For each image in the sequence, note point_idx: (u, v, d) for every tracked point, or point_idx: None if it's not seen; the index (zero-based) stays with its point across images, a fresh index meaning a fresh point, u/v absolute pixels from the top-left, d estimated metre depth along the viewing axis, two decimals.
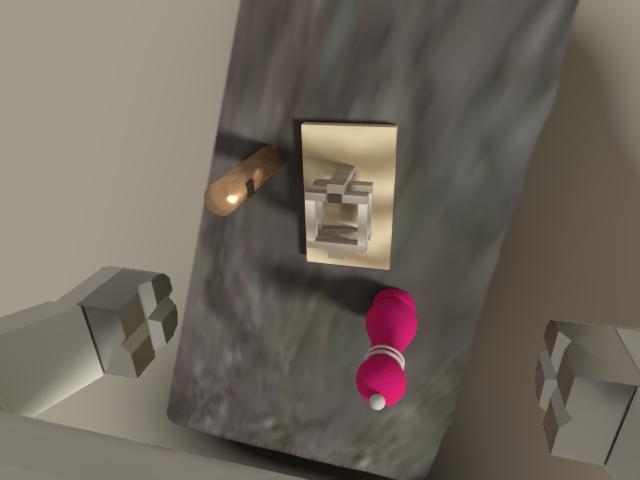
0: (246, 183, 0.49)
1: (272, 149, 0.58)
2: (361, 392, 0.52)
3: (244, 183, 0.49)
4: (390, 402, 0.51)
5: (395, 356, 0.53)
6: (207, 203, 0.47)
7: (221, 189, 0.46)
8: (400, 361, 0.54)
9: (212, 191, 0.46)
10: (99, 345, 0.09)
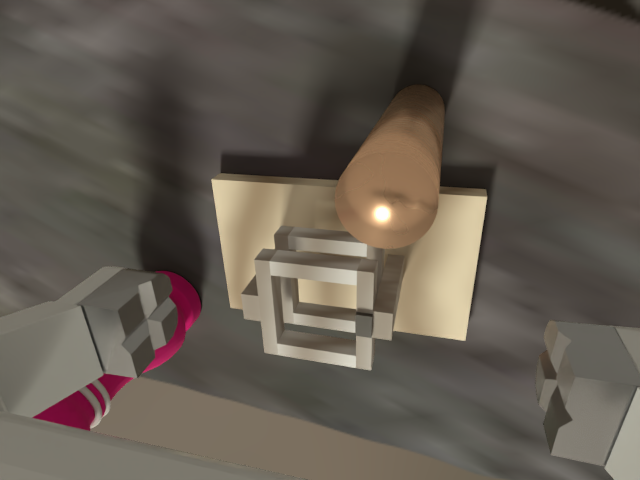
0: None
1: None
2: None
3: None
4: None
5: (97, 422, 0.31)
6: (371, 159, 0.15)
7: (420, 217, 0.15)
8: (91, 427, 0.32)
9: (413, 185, 0.15)
10: (99, 345, 0.09)
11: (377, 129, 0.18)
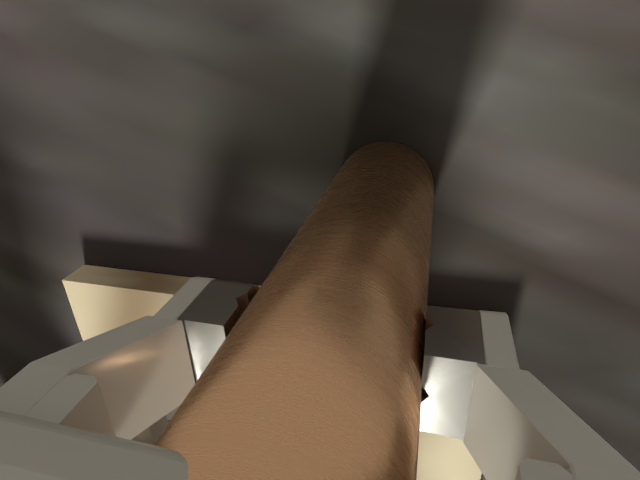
0: None
1: None
2: None
3: None
4: None
5: None
6: None
7: None
8: None
9: None
10: (197, 361, 0.09)
11: (216, 374, 0.06)
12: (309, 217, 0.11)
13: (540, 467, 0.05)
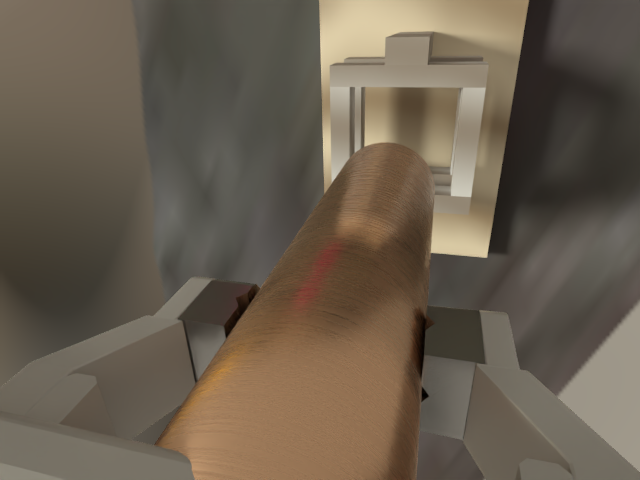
0: None
1: None
2: None
3: None
4: None
5: None
6: None
7: None
8: None
9: None
10: (197, 361, 0.09)
11: (216, 376, 0.06)
12: (309, 218, 0.11)
13: (540, 467, 0.05)
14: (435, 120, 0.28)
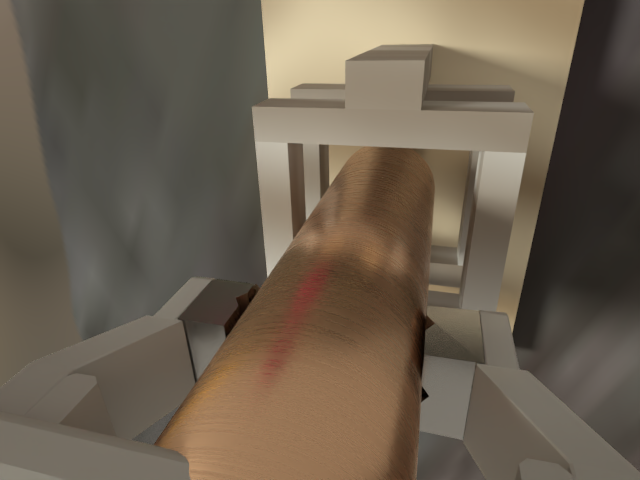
0: None
1: None
2: None
3: None
4: None
5: None
6: None
7: None
8: None
9: None
10: (197, 362, 0.09)
11: (215, 375, 0.06)
12: (309, 218, 0.11)
13: (540, 467, 0.05)
14: (435, 173, 0.19)
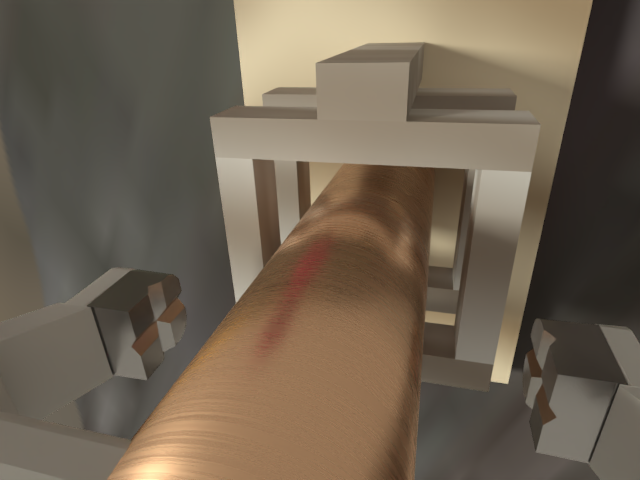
0: None
1: None
2: None
3: None
4: None
5: None
6: None
7: None
8: None
9: None
10: (109, 347, 0.09)
11: (252, 294, 0.07)
12: (322, 192, 0.12)
13: None
14: None
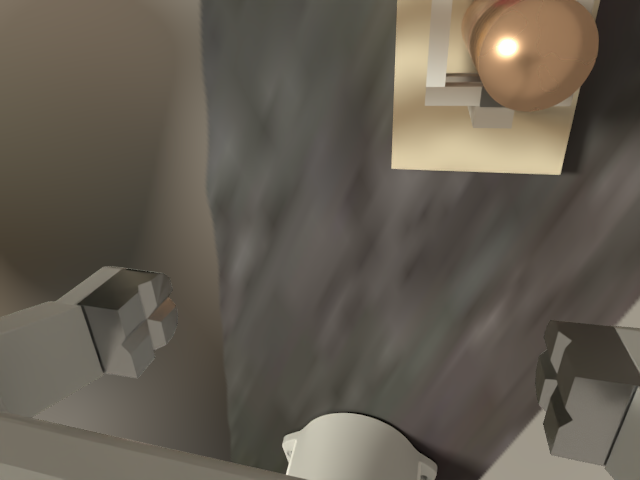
0: None
1: None
2: None
3: None
4: None
5: None
6: (528, 5, 0.14)
7: (574, 69, 0.14)
8: None
9: (572, 32, 0.14)
10: (99, 345, 0.09)
11: (498, 2, 0.18)
12: (479, 5, 0.23)
13: None
14: None
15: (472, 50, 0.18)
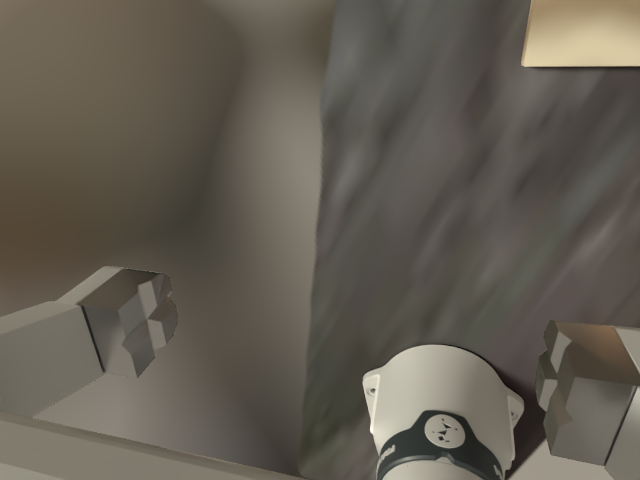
0: None
1: None
2: None
3: None
4: None
5: None
6: None
7: None
8: None
9: None
10: (99, 345, 0.09)
11: None
12: None
13: None
14: None
15: None
